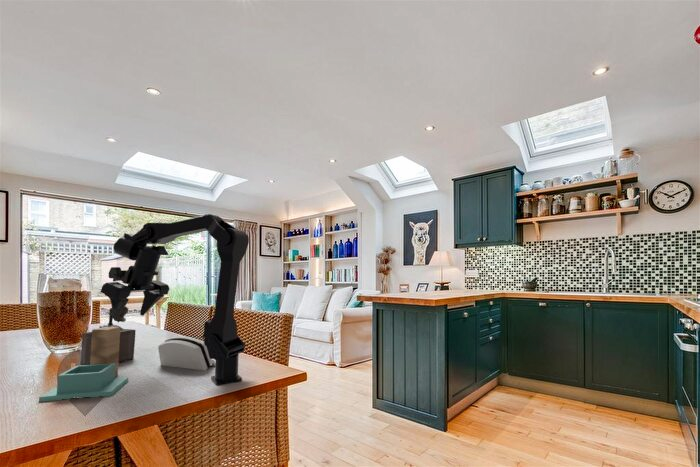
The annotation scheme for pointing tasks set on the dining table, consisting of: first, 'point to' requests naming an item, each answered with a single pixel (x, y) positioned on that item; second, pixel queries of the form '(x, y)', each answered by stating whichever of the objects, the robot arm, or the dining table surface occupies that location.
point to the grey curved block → (185, 353)
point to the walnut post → (105, 346)
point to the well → (86, 382)
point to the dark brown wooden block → (124, 347)
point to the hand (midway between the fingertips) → (128, 317)
